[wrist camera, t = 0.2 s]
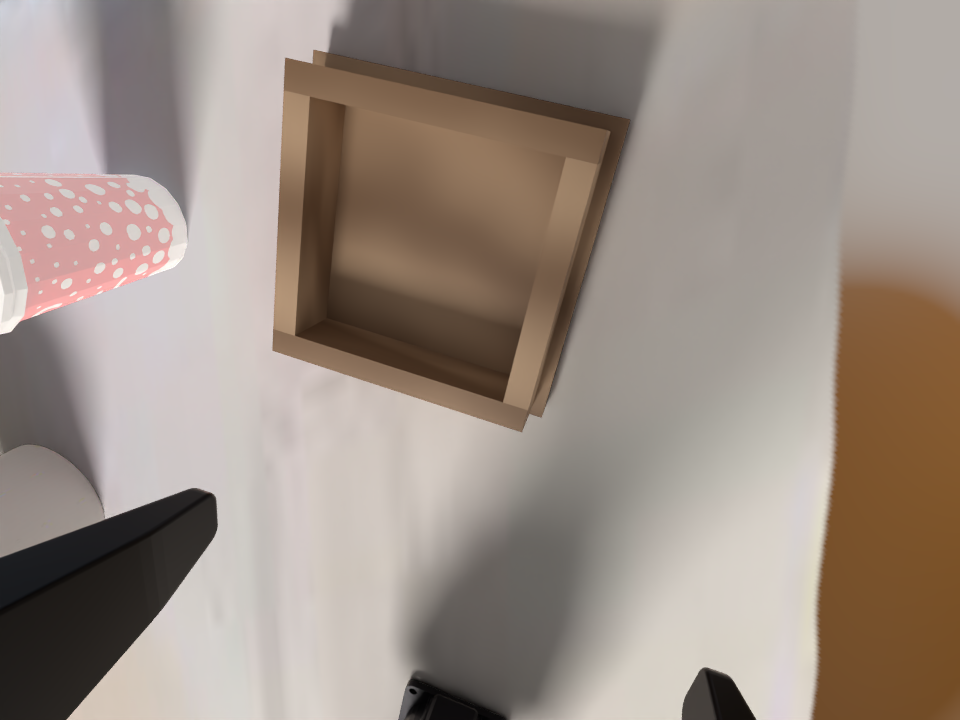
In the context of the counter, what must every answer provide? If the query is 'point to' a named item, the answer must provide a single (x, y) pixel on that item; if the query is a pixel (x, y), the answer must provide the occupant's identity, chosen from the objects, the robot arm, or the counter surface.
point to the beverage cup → (80, 238)
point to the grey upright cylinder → (42, 498)
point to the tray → (435, 232)
